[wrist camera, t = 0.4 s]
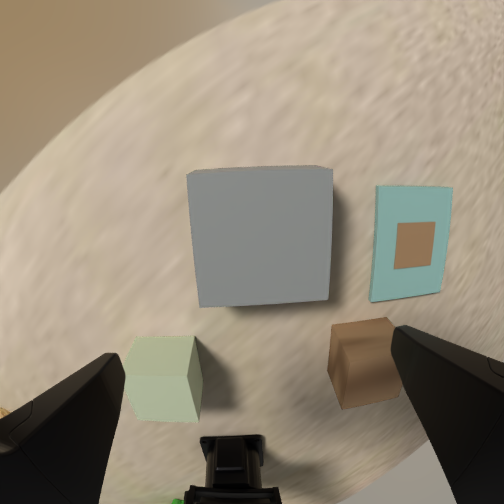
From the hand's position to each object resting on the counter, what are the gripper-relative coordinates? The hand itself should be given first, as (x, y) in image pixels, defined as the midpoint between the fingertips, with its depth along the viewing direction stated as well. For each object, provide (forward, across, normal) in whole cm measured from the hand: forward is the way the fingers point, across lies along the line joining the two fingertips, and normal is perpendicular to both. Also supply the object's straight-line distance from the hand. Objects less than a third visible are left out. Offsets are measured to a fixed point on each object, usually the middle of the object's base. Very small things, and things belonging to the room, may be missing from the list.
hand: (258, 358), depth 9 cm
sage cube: (+13, +7, +10) cm, 18 cm away
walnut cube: (+13, -9, +10) cm, 19 cm away
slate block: (+13, -1, -1) cm, 13 cm away
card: (+13, -13, +1) cm, 18 cm away
